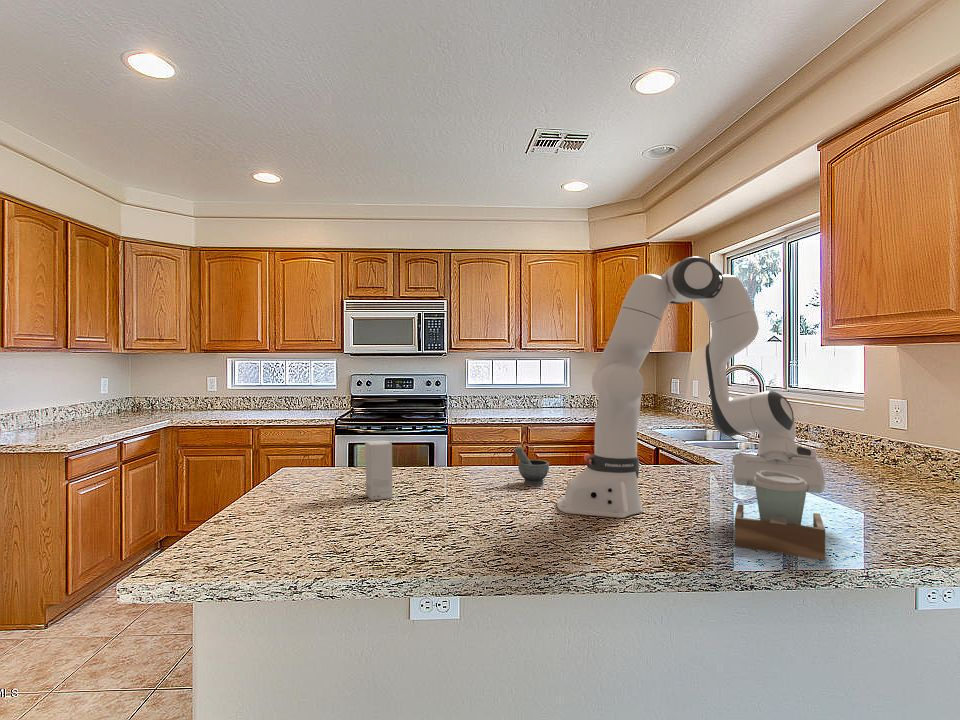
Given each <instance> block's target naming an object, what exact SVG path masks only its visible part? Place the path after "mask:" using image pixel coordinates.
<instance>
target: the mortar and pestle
mask: <svg viewBox="0 0 960 720" xmlns="http://www.w3.org/2000/svg"><path fill="white" fill-rule="evenodd" d="M523 449H524V448H523V447H522V446H518V447H516V448H514V453H516V456H517V458H518V460H519V461H518V471H519V474H520V476H521V477H522V478H523V479H524V480H523V485H525V486H527V487H541V486H544V479H545V478H546V477H547V475H548V474H549V469H550V462H549V461H547V460H541V459H529V458H528V456H527V454H526V453H525V452H524V450H523Z"/></svg>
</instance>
